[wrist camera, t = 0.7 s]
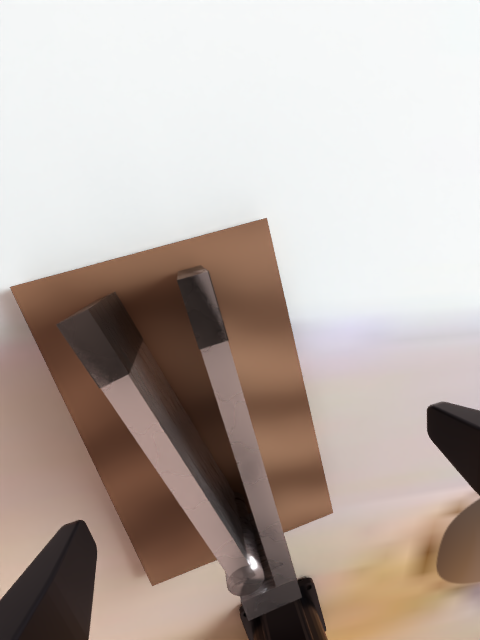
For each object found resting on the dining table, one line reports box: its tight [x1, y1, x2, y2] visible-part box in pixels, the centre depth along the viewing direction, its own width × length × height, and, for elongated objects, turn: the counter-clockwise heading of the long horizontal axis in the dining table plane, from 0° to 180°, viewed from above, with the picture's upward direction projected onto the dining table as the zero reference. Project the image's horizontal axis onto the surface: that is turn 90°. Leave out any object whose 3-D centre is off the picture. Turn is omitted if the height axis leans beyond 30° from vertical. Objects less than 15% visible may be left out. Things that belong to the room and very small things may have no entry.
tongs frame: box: [177, 265, 302, 621], centre depth 17 cm, size 19×3×5 cm, turn 15°
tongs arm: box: [56, 292, 264, 596], centre depth 16 cm, size 17×2×5 cm, turn 25°
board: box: [10, 218, 333, 586], centre depth 20 cm, size 22×14×1 cm, turn 15°
